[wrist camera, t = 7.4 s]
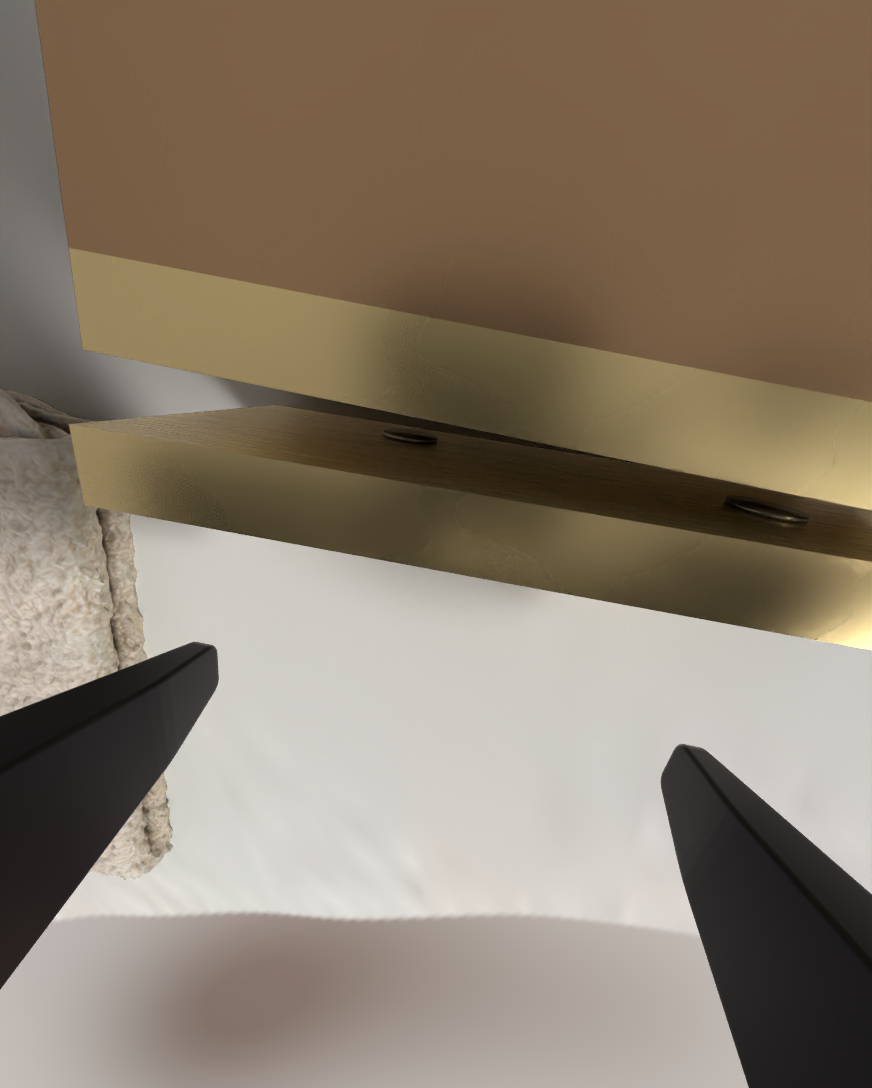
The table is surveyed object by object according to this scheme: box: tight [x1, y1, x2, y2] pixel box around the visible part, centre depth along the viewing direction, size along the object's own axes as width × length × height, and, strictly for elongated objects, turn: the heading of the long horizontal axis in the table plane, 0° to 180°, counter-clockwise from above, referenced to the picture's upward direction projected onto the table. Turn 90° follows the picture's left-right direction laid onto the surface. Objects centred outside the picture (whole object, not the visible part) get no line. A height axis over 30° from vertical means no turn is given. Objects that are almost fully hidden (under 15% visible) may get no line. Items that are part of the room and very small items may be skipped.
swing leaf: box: [69, 405, 872, 650], centre depth 7 cm, size 15×3×6 cm, turn 82°
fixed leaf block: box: [35, 0, 872, 510], centre depth 6 cm, size 12×4×5 cm, turn 79°
